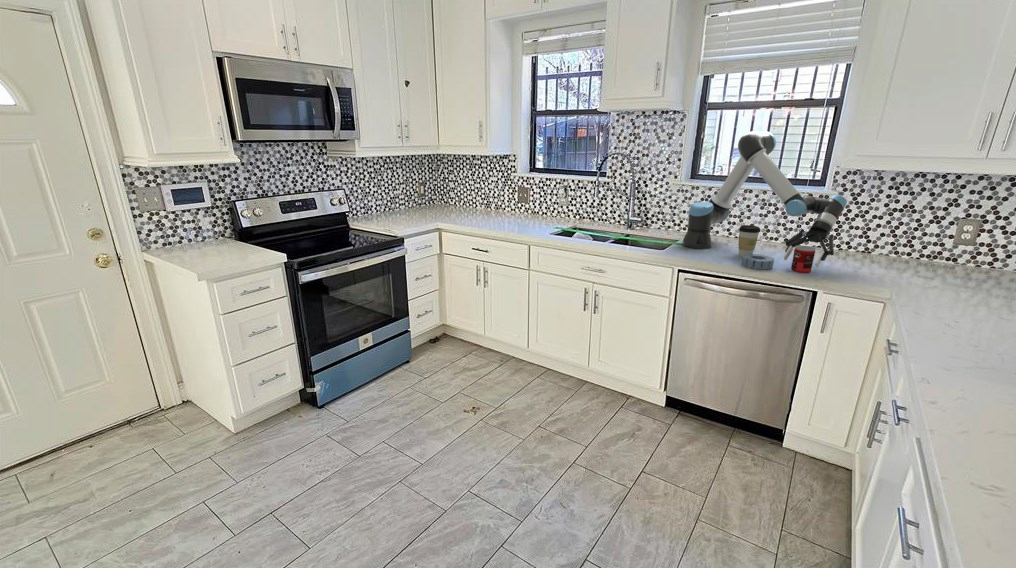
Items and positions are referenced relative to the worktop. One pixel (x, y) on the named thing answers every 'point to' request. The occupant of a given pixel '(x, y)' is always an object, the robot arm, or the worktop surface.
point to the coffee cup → (747, 239)
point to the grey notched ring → (757, 261)
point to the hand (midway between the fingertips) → (800, 261)
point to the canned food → (803, 259)
